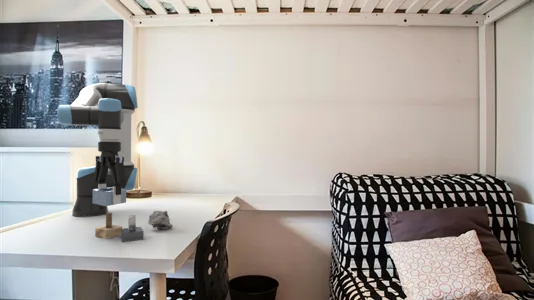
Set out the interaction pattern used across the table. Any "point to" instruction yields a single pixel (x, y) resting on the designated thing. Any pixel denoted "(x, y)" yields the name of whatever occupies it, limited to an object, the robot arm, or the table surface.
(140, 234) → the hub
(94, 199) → the collar
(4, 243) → the table surface
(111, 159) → the robot arm
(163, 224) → the mineral specimen
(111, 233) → the stand
